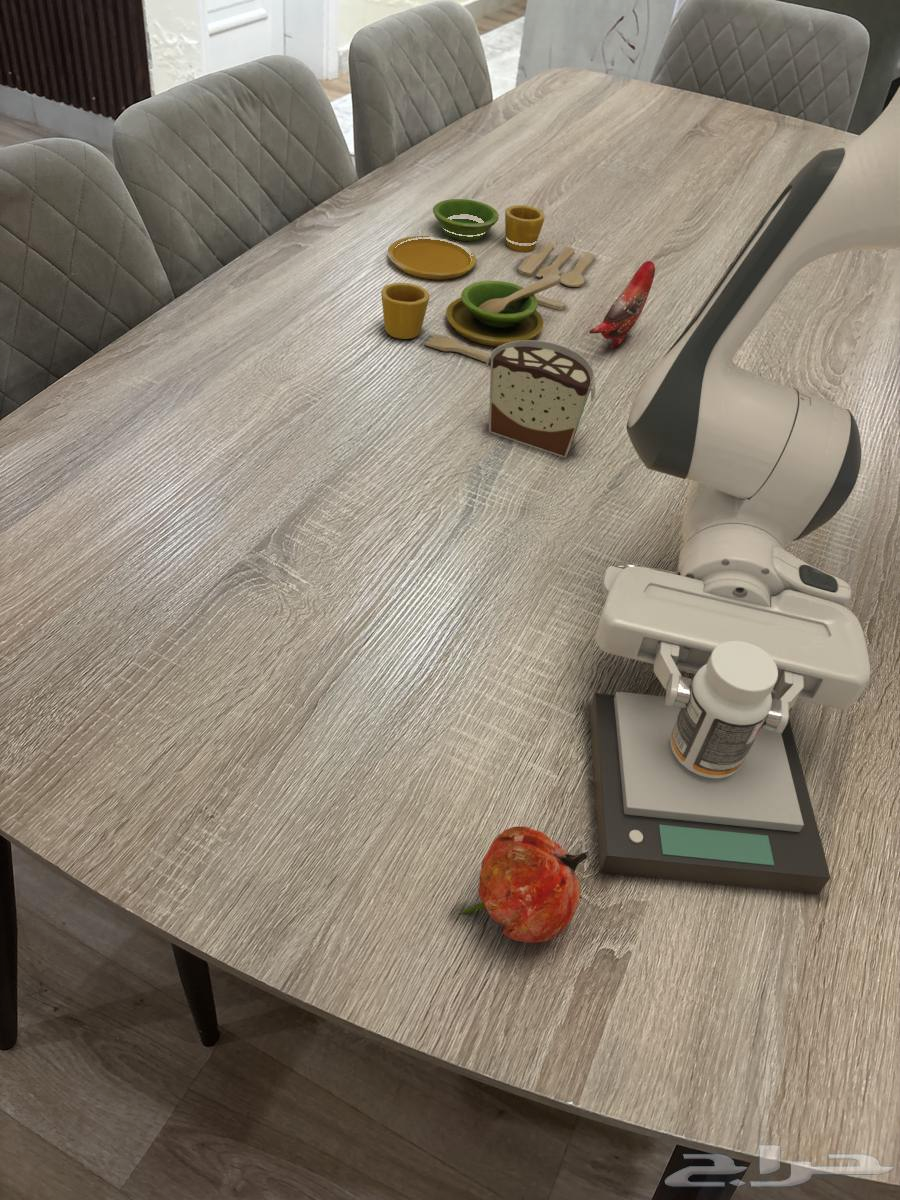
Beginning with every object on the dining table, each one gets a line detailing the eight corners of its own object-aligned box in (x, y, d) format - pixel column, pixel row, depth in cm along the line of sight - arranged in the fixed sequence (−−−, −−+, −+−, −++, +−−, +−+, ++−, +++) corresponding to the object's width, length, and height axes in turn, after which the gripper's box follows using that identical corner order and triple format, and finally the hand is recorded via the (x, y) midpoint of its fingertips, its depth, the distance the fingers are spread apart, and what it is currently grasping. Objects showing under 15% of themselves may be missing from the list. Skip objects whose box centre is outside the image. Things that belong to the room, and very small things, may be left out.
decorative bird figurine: (648, 329, 128) (667, 259, 121) (589, 381, 117) (606, 306, 110) (629, 322, 129) (647, 252, 122) (569, 373, 118) (584, 298, 111)
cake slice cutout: (595, 436, 108) (614, 358, 101) (578, 463, 104) (596, 384, 97) (497, 404, 111) (508, 326, 104) (476, 429, 107) (487, 350, 100)
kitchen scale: (777, 731, 79) (792, 704, 76) (818, 895, 68) (836, 870, 66) (588, 711, 78) (597, 684, 76) (599, 873, 68) (609, 847, 65)
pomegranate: (487, 985, 63) (621, 942, 60) (428, 931, 60) (568, 883, 56) (486, 890, 69) (608, 847, 66) (432, 836, 65) (559, 787, 62)
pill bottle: (753, 745, 72) (798, 660, 66) (724, 795, 69) (770, 710, 62) (686, 709, 74) (723, 622, 68) (655, 755, 71) (691, 669, 64)
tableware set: (511, 379, 115) (519, 332, 111) (311, 319, 121) (311, 272, 117) (604, 257, 143) (613, 215, 139) (438, 213, 150) (442, 172, 145)
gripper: (614, 529, 76) (592, 650, 66) (871, 588, 74) (887, 721, 64) (598, 586, 80) (575, 706, 71) (840, 642, 78) (851, 775, 68)
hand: (726, 714), depth 67 cm, fingers closed on pill bottle, 5 cm apart
